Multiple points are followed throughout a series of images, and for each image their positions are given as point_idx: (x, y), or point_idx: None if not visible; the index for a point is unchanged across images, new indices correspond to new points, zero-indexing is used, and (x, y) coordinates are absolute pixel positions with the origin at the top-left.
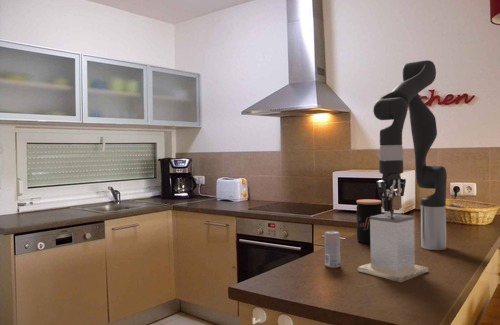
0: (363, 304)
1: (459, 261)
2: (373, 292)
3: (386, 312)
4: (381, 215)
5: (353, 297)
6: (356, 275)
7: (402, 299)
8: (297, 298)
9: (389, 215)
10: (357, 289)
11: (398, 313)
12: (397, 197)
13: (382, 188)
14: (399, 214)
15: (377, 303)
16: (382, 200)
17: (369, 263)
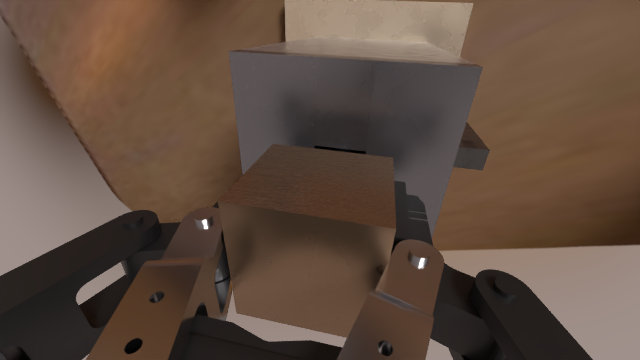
0: (135, 155)
1: (620, 203)
2: (192, 138)
3: (146, 197)
4: (322, 98)
5: (139, 122)
6: (252, 26)
7: (209, 194)
8: (30, 33)
9: (358, 144)
10: (175, 101)
11: (160, 211)
12: (299, 320)
13: (5, 355)
14: (444, 180)
15: (159, 171)
16: (243, 180)
17: (352, 3)
